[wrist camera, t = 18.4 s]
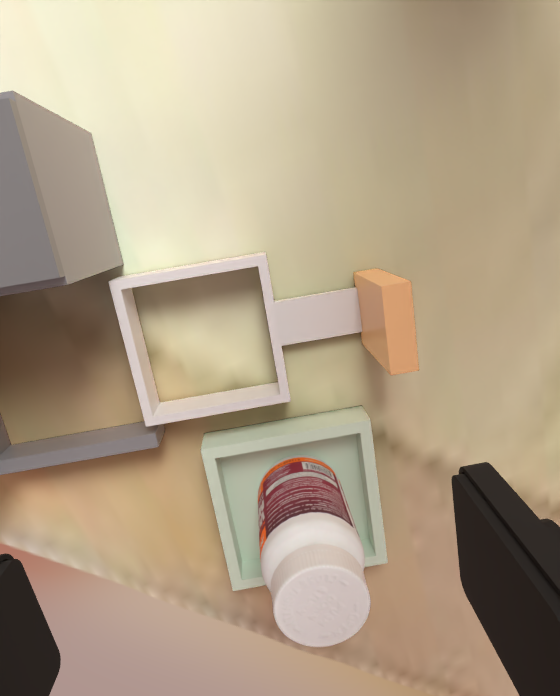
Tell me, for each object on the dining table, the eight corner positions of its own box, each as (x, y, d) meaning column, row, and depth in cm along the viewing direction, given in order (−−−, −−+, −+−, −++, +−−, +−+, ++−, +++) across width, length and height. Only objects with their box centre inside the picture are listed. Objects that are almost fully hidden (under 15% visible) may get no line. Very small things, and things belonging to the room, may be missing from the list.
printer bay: (91, 133, 29) (5, 86, 19) (165, 431, 34) (129, 520, 24) (-103, 165, 29) (-296, 135, 19) (1, 459, 34) (-104, 562, 24)
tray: (361, 405, 35) (370, 419, 32) (378, 540, 38) (388, 563, 35) (204, 433, 35) (200, 450, 32) (233, 566, 38) (232, 591, 35)
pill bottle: (242, 475, 35) (240, 591, 24) (317, 437, 35) (349, 537, 24) (281, 538, 37) (295, 673, 26) (353, 503, 36) (398, 625, 25)
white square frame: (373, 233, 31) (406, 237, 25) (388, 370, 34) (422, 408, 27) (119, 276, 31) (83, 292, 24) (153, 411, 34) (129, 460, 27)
